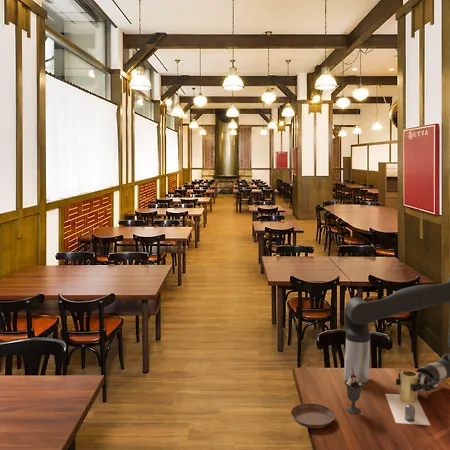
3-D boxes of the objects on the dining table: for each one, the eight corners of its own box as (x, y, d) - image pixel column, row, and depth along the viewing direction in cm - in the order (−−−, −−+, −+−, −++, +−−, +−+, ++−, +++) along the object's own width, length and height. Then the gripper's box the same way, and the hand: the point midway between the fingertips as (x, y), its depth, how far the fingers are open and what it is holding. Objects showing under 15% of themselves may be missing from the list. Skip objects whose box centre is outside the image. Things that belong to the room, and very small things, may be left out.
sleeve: (409, 404, 190) (410, 378, 188) (395, 398, 195) (396, 372, 193) (420, 400, 193) (421, 374, 192) (406, 394, 198) (407, 368, 197)
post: (405, 421, 178) (406, 407, 177) (403, 416, 181) (404, 402, 181) (415, 422, 178) (416, 407, 177) (413, 417, 181) (414, 403, 180)
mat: (395, 425, 177) (395, 422, 177) (385, 396, 199) (385, 393, 199) (430, 427, 176) (430, 425, 176) (415, 397, 197) (415, 395, 197)
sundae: (349, 404, 192) (351, 364, 191) (366, 410, 188) (367, 369, 186) (339, 410, 188) (340, 369, 186) (356, 417, 183) (357, 375, 181)
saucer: (326, 436, 171) (326, 428, 171) (283, 425, 178) (283, 417, 178) (340, 416, 184) (340, 409, 184) (299, 407, 191) (299, 399, 191)
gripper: (415, 359, 207) (388, 369, 197) (449, 370, 195) (423, 382, 185) (414, 377, 208) (387, 388, 198) (448, 390, 196) (422, 403, 186)
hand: (404, 385), depth 192 cm, fingers closed on sleeve, 6 cm apart
